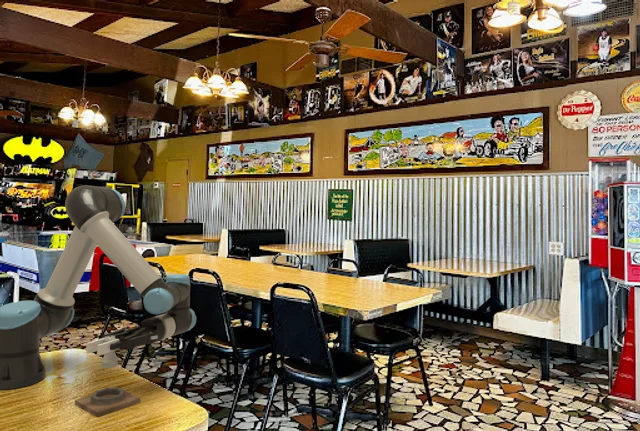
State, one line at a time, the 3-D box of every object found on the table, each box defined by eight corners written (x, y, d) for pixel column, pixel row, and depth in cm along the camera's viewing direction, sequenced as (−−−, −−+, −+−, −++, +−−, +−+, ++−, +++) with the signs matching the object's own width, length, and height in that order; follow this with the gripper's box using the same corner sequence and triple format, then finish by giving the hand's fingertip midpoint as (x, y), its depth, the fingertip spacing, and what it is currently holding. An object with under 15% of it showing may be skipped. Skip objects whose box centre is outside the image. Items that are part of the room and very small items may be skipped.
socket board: (75, 404, 123) (75, 394, 123) (117, 391, 133) (117, 381, 133) (97, 417, 116) (97, 406, 116) (140, 402, 126) (140, 392, 126)
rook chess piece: (111, 369, 122) (111, 339, 122) (96, 367, 123) (97, 338, 123) (122, 363, 126) (122, 335, 126) (107, 362, 127) (108, 334, 127)
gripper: (177, 344, 138) (116, 368, 116) (136, 337, 144) (70, 359, 123) (177, 319, 138) (116, 338, 116) (136, 314, 144) (71, 331, 122)
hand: (93, 349), depth 119 cm, fingers closed on rook chess piece, 3 cm apart
